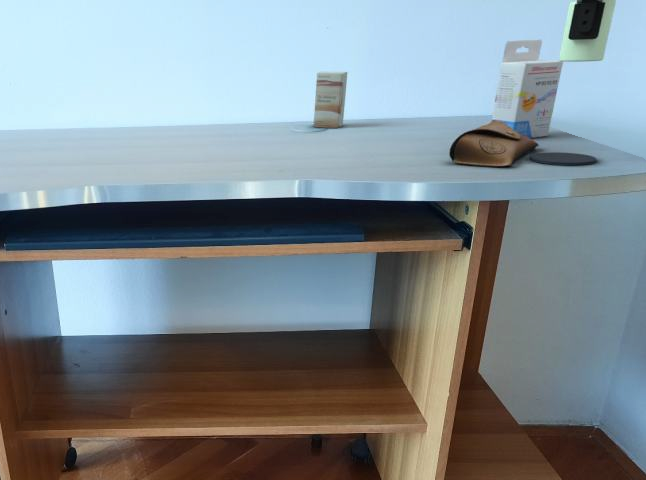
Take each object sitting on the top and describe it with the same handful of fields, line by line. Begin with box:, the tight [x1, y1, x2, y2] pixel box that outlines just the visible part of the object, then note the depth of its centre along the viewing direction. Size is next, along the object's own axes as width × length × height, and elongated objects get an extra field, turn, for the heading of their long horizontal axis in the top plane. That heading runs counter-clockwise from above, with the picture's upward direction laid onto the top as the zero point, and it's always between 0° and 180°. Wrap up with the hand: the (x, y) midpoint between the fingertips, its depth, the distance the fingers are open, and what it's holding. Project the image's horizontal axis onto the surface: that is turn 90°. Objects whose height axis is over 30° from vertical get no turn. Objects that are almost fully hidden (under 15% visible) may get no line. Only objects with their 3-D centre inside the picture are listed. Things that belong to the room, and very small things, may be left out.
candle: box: [558, 0, 617, 63], centre depth 81 cm, size 5×5×8 cm
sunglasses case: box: [449, 120, 540, 168], centre depth 92 cm, size 18×7×7 cm
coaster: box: [529, 151, 597, 167], centre depth 88 cm, size 8×8×1 cm
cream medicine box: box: [313, 70, 348, 129], centre depth 125 cm, size 5×4×10 cm
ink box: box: [491, 39, 564, 139], centre depth 104 cm, size 8×5×15 cm, turn 114°
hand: (585, 37), depth 81 cm, fingers closed on candle, 4 cm apart
